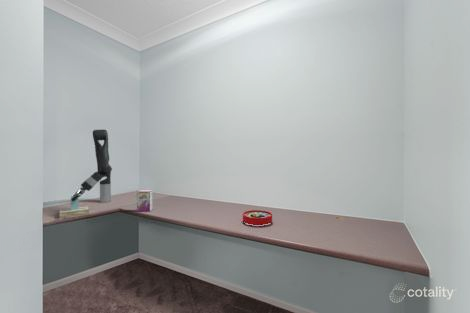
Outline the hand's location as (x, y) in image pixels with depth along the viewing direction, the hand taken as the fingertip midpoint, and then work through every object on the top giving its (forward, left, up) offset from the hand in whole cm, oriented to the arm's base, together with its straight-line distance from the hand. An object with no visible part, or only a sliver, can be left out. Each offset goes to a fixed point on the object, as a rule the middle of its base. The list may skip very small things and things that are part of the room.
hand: (72, 199), depth 176 cm
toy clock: (+97, +103, -12) cm, 142 cm away
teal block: (0, +1, -8) cm, 8 cm away
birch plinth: (0, +1, -12) cm, 12 cm away
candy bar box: (+20, +48, -12) cm, 54 cm away
